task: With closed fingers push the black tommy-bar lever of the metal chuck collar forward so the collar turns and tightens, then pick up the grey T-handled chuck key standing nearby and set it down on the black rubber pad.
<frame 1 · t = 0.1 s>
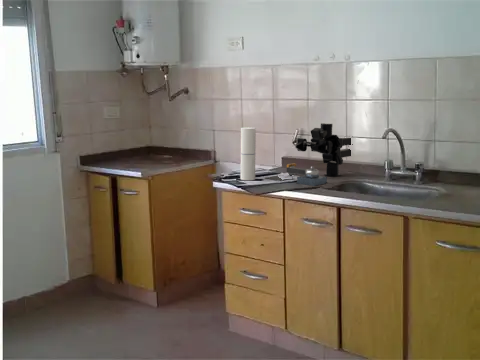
hand: (303, 147, 272), 17 cm above the counter, tool horizontal, fingers open, 9 cm apart
cylindrical container: (247, 179, 282), on the counter
chuck key: (291, 175, 292), on the counter
rubber pad: (279, 178, 284), on the counter
chuck collar: (302, 170, 275), point 6 cm above the counter, hinge at 0.0°
chuck base: (311, 183, 272), on the counter
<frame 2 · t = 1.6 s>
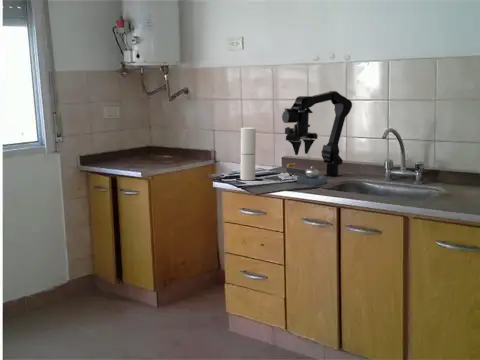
hand: (301, 154, 281), 12 cm above the counter, tool pointing down, fingers open, 8 cm apart
nothing on the counter moved.
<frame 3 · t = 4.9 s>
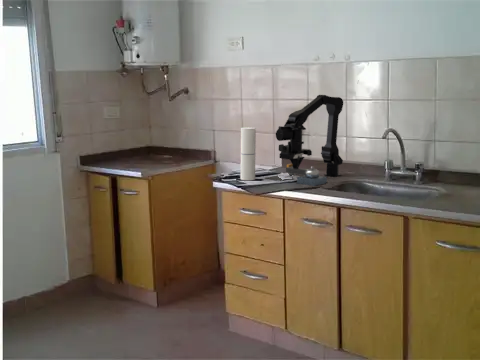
hand: (295, 171, 280), 4 cm above the counter, tool pointing down, fingers closed
chuck collar: (302, 170, 274), point 6 cm above the counter, hinge at 1.7°, touching gripper
everything else where it was.
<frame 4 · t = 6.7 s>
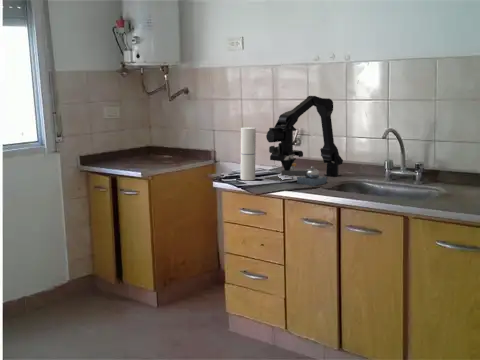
hand: (286, 173, 274), 4 cm above the counter, tool pointing down, fingers closed
chuck collar: (300, 171, 271), point 6 cm above the counter, hinge at 38.8°, touching gripper
everything else where it was.
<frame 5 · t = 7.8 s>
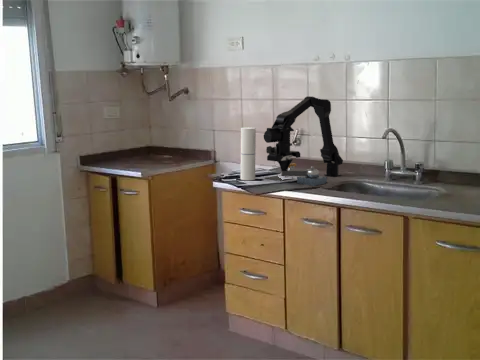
hand: (283, 173, 273), 4 cm above the counter, tool pointing down, fingers closed
chuck collar: (300, 171, 270), point 6 cm above the counter, hinge at 45.9°, touching gripper
everything else where it was.
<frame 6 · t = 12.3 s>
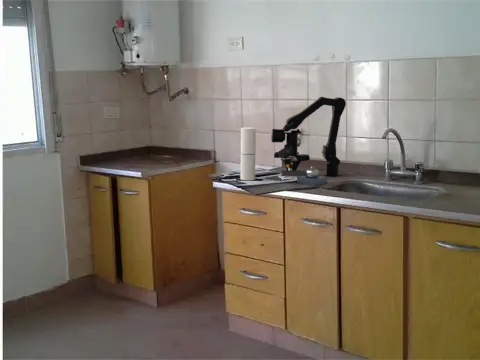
hand: (291, 173, 292), 1 cm above the counter, tool pointing down, fingers closed on chuck key, 3 cm apart
chuck key: (291, 175, 292), on the counter, touching gripper
chuck collar: (300, 171, 270), point 6 cm above the counter, hinge at 46.5°
everything else where it was.
when the fingers open (2 cm above the counter, at t = 15.8 s): chuck key stays where it is, resting on rubber pad.
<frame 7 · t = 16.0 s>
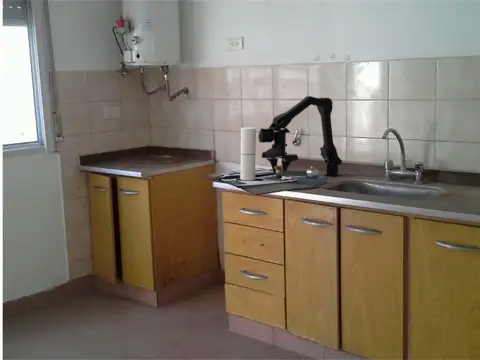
hand: (279, 173, 283), 2 cm above the counter, tool pointing down, fingers open, 5 cm apart
chuck key: (279, 177, 284), resting on rubber pad
everything else where it was.
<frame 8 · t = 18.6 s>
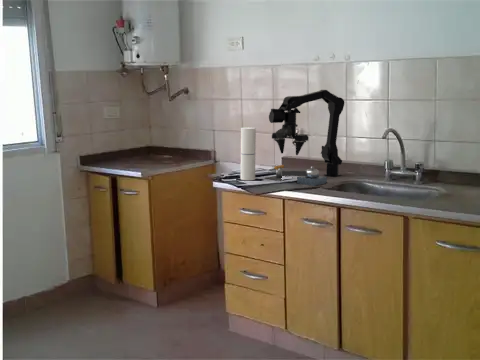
hand: (289, 154, 282), 12 cm above the counter, tool pointing down, fingers open, 9 cm apart
nothing on the counter moved.
at the end: chuck collar at +46° (first picture: +0°); chuck key inside the target area on the rubber pad (0.0 cm from its centre), point 0.4 cm above the rubber pad's base; the gripper is holding nothing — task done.
